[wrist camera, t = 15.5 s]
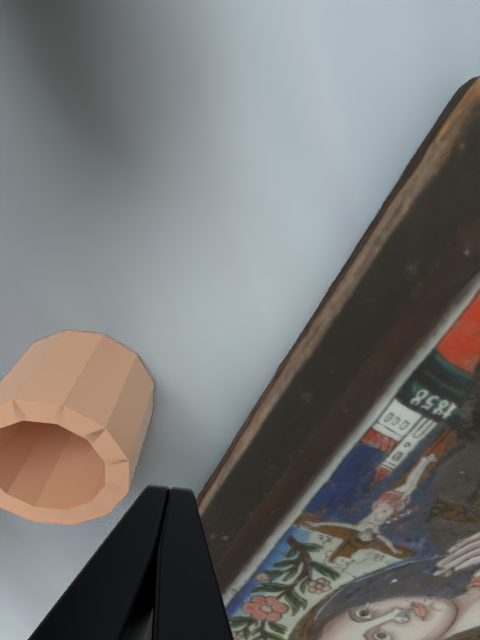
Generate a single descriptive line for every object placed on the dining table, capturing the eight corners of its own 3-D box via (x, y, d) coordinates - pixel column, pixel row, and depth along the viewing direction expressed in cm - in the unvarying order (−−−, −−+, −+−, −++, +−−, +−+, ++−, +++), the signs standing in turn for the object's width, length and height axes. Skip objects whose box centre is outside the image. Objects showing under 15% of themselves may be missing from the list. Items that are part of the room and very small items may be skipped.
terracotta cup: (13, 323, 21) (-57, 392, 16) (156, 340, 22) (129, 412, 17) (27, 431, 25) (-27, 515, 20) (151, 444, 25) (128, 530, 20)
